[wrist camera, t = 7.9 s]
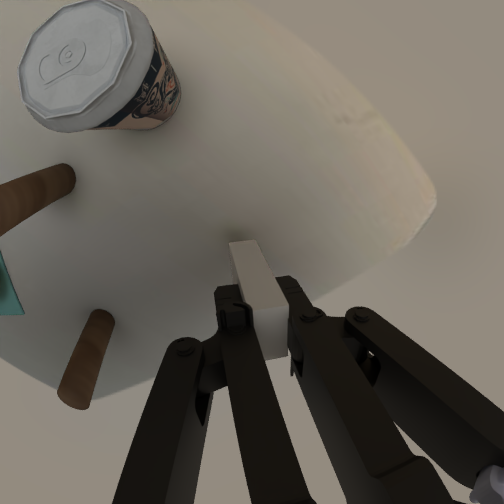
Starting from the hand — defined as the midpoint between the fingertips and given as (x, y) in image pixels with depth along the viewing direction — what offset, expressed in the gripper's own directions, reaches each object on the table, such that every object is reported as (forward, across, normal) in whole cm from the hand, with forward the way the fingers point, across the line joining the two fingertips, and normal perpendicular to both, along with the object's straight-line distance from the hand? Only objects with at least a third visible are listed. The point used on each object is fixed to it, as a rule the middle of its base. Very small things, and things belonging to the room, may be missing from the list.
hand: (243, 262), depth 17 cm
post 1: (+5, -12, +6) cm, 15 cm away
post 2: (+5, -12, -6) cm, 15 cm away
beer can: (+5, -5, +10) cm, 13 cm away
